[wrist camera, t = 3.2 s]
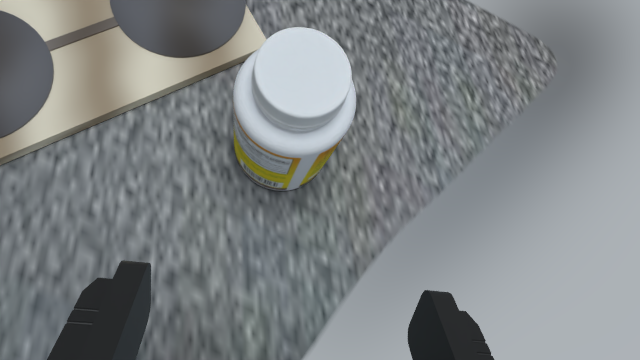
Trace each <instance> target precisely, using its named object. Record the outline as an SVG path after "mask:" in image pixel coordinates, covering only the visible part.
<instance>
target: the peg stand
mask: <svg viewBox="0 0 640 360" xmlns="http://www.w3.org/2000/svg"><path fill="white" fill-rule="evenodd" d="M265 41H266V38H265V36H264V35H263V33H262V31H261V30H260V28H259V26H258V24H257V23H256V21H255V19H254V18H253V16H252V14H251V12H250V11H249V9H248V7H247V6H246V0H0V165H2V164H4V163H7V162H9V161H12V160H14V159H16V158H19V157H21V156H23V155H26V154H28V153H30V152H33V151H35V150H37V149H40V148H42V147H44V146H47V145H49V144H51V143H54V142H56V141H58V140H61V139H63V138H66V137H68V136H70V135H73V134H75V133H77V132H80V131H82V130H84V129H87V128H89V127H91V126H94V125H96V124H98V123H101V122H103V121H105V120H108V119H110V118H113V117H115V116H117V115H120V114H122V113H124V112H127V111H129V110H131V109H134V108H136V107H138V106H141V105H143V104H145V103H148V102H150V101H152V100H155V99H157V98H159V97H162V96H164V95H167V94H169V93H171V92H174V91H176V90H178V89H181V88H183V87H185V86H188V85H190V84H192V83H195V82H197V81H199V80H202V79H204V78H206V77H209V76H211V75H214V74H216V73H218V72H221V71H223V70H225V69H228V68H230V67H232V66H235V65H237V64H239V63H242V62H244V61H246V60H247V59H248V57H249V56H251V55H252V54H253V53H254V52H255V51H257V50H258V49H260V47H261V46H262V44H263V43H264V42H265Z"/></svg>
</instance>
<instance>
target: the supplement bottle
mask: <svg viewBox="0 0 640 360" xmlns="http://www.w3.org/2000/svg"><path fill="white" fill-rule="evenodd" d="M355 109H356V93H355V88H354V84H353V81H352V73H351V67H350V63H349V60H348V58H347V56H346V54H345V52H344V51H343V49H342V48H341V47H340V46H339V44H338V43H337V42H335V41H334V40H333V39H332V38H330V37H329V36H328V35H326V34H324V33H322V32H320V31H317V30H314V29H311V28H303V27H293V28H288V29H284V30H281V31H279V32H277V33H275V34H273V35H272V36H270V37H269V38H268V39H267V40H266V41H265V42H264V43H263V44H262V46H261V47H260V49H258V50H257V51H255V52H254V53H253V54H252V55H251V56H249V57H248V59H247V60H246V61H245V62H244V64H243V65H242V66H241V68H240V70H239V72H238V74H237V77H236V80H235V84H234V92H233V110H234V150H235V155H236V158H237V161H238V163H239V165H240V167H241V169H242V170H243V172H244V173H245V174H246V175H247V176H248V177H249V178H250V179H251V180H252V181H254V182H255V183H257V184H258V185H260V186H262V187H265V188H268V189H272V190H279V191H286V190H292V189H296V188H299V187H301V186H303V185H305V184H307V183H308V182H310V181H311V180H312V179H313V178H314V177H315V176H316V175H317V174H318V173H319V171H320V170H321V169H322V167H323V166H324V164H325V163H326V161H327V160H328V158H329V157H330V156H331V154H332V153H333V151H334V150H335V148H336V147H337V145H338V144H339V142H340V141H341V139H342V138H343V137H344V135H345V134H346V132H347V131H348V129H349V127H350V125H351V123H352V120H353V118H354V114H355Z"/></svg>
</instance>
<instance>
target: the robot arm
mask: <svg viewBox="0 0 640 360" xmlns="http://www.w3.org/2000/svg"><path fill="white" fill-rule="evenodd" d="M150 304H151V265H150V263H143V262H133V261H121V262H120V264H119V266H118V268H117V271H116V273H115V275H114V277H113V279H106V278H97V279H96V280H95V281H94V282H92V283H91V284H90V285H89V286H88V287H87V288H85V289H84V290H83V291H82V293H81V295H80V297H79V299H78V301H77V303H76V305H75V307H74V310H72V312H71V314H70V316H69V318H68V320H67V324H65V326H64V328H63V330H62V332H61V334H60V336H59V338H58V339H57V341H56V343H55V345H54V347H53V349H52V351H51V353H50V355H49V357H48V359H47V360H136V356H137V353H138V350H139V347H140V344H141V341H142V338H143V335H144V332H145V329H146V325H147V322H148V318H149V312H150ZM408 344H409V348H410V352H411V355H412V358H413V360H494V358H493V356H491V352H490V349H489V347H488V346H487V344H486V343H485V339H484V336H483V334H482V332H481V330H480V328H479V326H478V324H477V323H476V322H475V321H474V320H473V319H472V318H471V317H470V316H469V314H468V313H467V312H466V311H459V310H458V307H457V305H456V303H455V300H454V298H453V296H452V294H450V293H448V292H438V291H428V290H425V291H424V292H423V293H422V295H421V298H420V300H419V303H418V305H417V307H416V310H415V312H414V315H413V317H412V319H411V322H410V324H409V328H408Z"/></svg>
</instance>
